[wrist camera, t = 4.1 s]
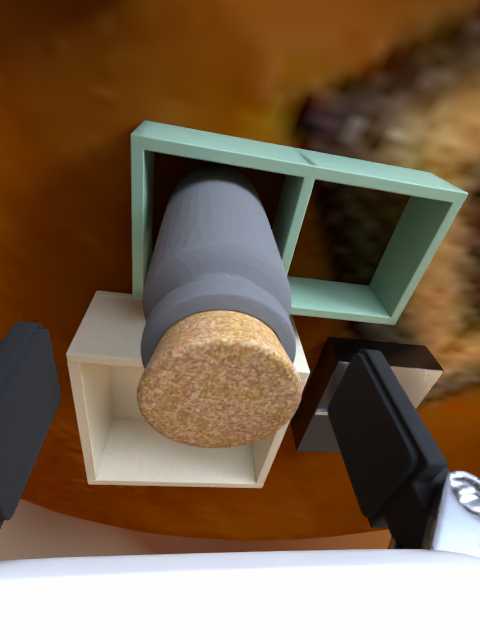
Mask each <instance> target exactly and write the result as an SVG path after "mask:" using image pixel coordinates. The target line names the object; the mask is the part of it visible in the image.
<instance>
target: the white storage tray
mask: <svg viewBox="0 0 480 640" xmlns="http://www.w3.org/2000/svg"><path fill="white" fill-rule="evenodd" d="M289 318H290V320H291V324H292V327H293V331H294V334H295V339H296V356H295V360H294V363H293V365H294V367H295V369H296V370H297V372H298V374H299V376H300V380H301V384H302V391H303V389H304V386H305V384H306V381H307V379H308V376H309V374H310V371H309V367H308V364H307V361H306V358H305V355H304V351H303V348H302V345H301V342H300V339H299V335H298V332H297V329H296V326H295V322H294V319H293V316H292V314H290V317H289ZM145 324H146V320H145V317H144V313H143V305H142V299H138V298H133V294H126V293H117V292H108V291H98V290H97V291H96V293H95V295H94V297H93V299H92V301H91V303H90V305H89V307H88V309H87V311H86V313H85V315H84V318H83V320H82V322H81V324H80V326H79V328H78V330H77V332H76V334H75V336H74V338H73V340H72V342H71V344H70V346H69V349H68V351H67V353H66V357H67V364H68V370H69V376H70V382H71V387H72V393H73V399H74V405H75V411H76V417H77V423H78V428H79V434H80V440H81V446H82V452H83V458H84V464H85V469H86V475H87V481H88V484H98V485H143V486H189V487H235V488H262V487H263V484H264V482H265V479H266V477H267V475H268V472H269V470H270V467H271V465H272V463H273V460H274V458H275V456H276V453H277V451H278V448H279V446H280V444H281V441H282V439H283V436H284V434H285V432H286V429H287V427H288V424H289V422H290V420H291V419H290V420H289V421H288V422H287V423H286V424H285V425H284V426H283V427H282V428H280V429H279V430H278V431H276V432H275V433H273V434H271V435H270V436H268V437H266V438H264V439H261V440H259V441H256V442H253V443H250V444H246V445H242V446H237V447H229V448H202V447H195V446H189V445H186V444H182V443H179V442H177V441H174V440H172V439H169V438H167V437H165V436H164V435H162V434H160V433H159V432H157V431H156V430H155V429H154V428H152V427H151V426H150V424H149V423H148V422H147V421H146V420H145V418H144V417H143V415H142V414H141V412H140V410H139V406H138V403H137V387H138V384H139V381H140V378H141V376H142V374H143V372H144V370H145V369H144V367H143V364H142V358H141V340H142V335H143V330H144V327H145Z"/></svg>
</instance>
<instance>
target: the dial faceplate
mask: <svg viewBox="0 0 480 640" xmlns="http://www.w3.org/2000/svg"><path fill="white" fill-rule="evenodd" d="M361 349H366V350H378V351H380V352H381V353H382V354H383V356H384V358H385V359H386V361H387V363H388V364H389V366H390V368H391V369H392V371H393V373H394V374H395V376H396V378H397V379H398V381H399V383H400V384H401V386H402V388H403V389H404V391H405V393H406V394H407V396H408V398H409V399H410V401H411V403H412V404H413V406H414V408H415V409H416V408H417V407H418V405H419V404H420V402H421V401H422V400H423V398H424V397H425V396H426V394H427V393H428V392H429V390H430V389H431V388H432V386H433V385H434V384H435V382H436V381H437V380H438V378H439V377H440V375H441V374H442V373H443V371H444V370H443V369H442V368H441V366H440V365H439V363H438V362H437V361H436V359H435V358H434V357H433V355H432V354H431V353H430V351H429V350H428V348H427V347H426V346H419V345H409V344H398V343H388V342H377V341H367V340H356V339H346V338H335V337H328V339H327V342H326V344H325V346H324V349H323V351H322V353H321V356H320V358H319V360H318V363H317V365H316V367H315V370H314V372H313V375H312V377H311V379H310V382H309V384H308V386H307V389H306V391H305V393H304V396H303V398H302V400H301V403H300V405H299V407H298V410H297V412H296V414H295V417H294V419H293V421H292V424H291V427H292V432H293V436H294V441H295V445H296V450H297V451H311V452H336V453H341V452H340V449H339V446H338V443H337V440H336V437H335V434H334V431H333V428H332V426H331V423H330V420H329V417H328V405H329V403H330V401H331V399H332V397H333V395H334V393H335V391H336V389H337V387H338V385H339V383H340V381H341V379H342V377H343V375H344V373H345V371H346V369H347V367H348V365H349V363H350V361H351V359H352V357H353V355H354V354H355V353H358V352H359V351H360V350H361Z"/></svg>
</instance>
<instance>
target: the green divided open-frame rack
mask: <svg viewBox="0 0 480 640" xmlns="http://www.w3.org/2000/svg"><path fill="white" fill-rule="evenodd" d="M130 141H131V217H132V293H133V298H138V299H143V290H144V285H145V281H146V277H147V274H148V270H149V266H150V263H151V259H152V239H153V199H154V159H155V152H157V153H163V154H169V155H175V156H181V157H187V158H193V159H198V160H204V161H210V162H216V163H222V164H228V165H234V166H240V167H246V168H251V169H257V170H263V171H269V172H275V173H281V174H286V175H285V179H284V183H283V187H282V191H281V195H280V199H279V204H278V208H277V212H276V216H275V220H274V224H273V228H272V233H273V236H274V239H275V242H276V245H277V248H278V251H279V254H280V257H281V260H282V263H283V266H284V269H285V272H286V275H287V274H288V270H289V267H290V263H291V260H292V256H293V253H294V250H295V246H296V243H297V239H298V236H299V232H300V229H301V226H302V222H303V219H304V215H305V212H306V208H307V205H308V202H309V198H310V195H311V191H312V188H313V185H314V181H315V179H316V180H322V181H328V182H334V183H340V184H346V185H351V186H357V187H363V188H369V189H375V190H381V191H387V192H393V193H399V194H404V195H410V198H409V200H408V202H407V204H406V207H405V209H404V211H403V213H402V215H401V217H400V219H399V222H398V224H397V226H396V228H395V230H394V232H393V235H392V237H391V239H390V241H389V243H388V245H387V248H386V250H385V252H384V254H383V256H382V258H381V260H380V263H379V265H378V267H377V269H376V271H375V273H374V276H373V278H372V280H371V282H370V284H369V286H367V285H358V284H350V283H342V282H334V281H326V280H317V279H309V278H301V277H293V276H287V279H288V282H289V285H290V290H291V298H292V304H291V313H290V314H293V315H302V316H312V317H322V318H331V319H341V320H350V321H360V322H370V323H379V324H388V325H395V324H396V322H397V320H398V318H399V316H400V315H401V313H402V311H403V309H404V307H405V306H406V304H407V302H408V300H409V299H410V297H411V295H412V293H413V291H414V290H415V288H416V286H417V284H418V282H419V281H420V279H421V277H422V275H423V274H424V272H425V270H426V268H427V266H428V265H429V263H430V261H431V259H432V257H433V256H434V254H435V252H436V250H437V249H438V247H439V245H440V243H441V241H442V240H443V238H444V236H445V234H446V232H447V231H448V229H449V227H450V225H451V223H452V222H453V220H454V218H455V216H456V215H457V213H458V211H459V209H460V207H461V206H462V204H463V202H464V200H465V199H466V197H467V195H468V193H467V192H465V191H463V190H461V189H459V188H458V187H456V186H454V185H452V184H450V183H448V182H447V181H445V180H443V179H441V178H439V177H437V176H435V175H434V174H432V173H430V172H424V171H419V170H413V169H408V168H402V167H397V166H392V165H386V164H381V163H375V162H370V161H364V160H359V159H353V158H348V157H342V156H337V155H331V154H326V153H321V152H315V151H310V150H304V149H299V148H293V147H288V146H282V145H277V144H271V143H266V142H261V141H255V140H250V139H244V138H239V137H233V136H228V135H222V134H217V133H211V132H206V131H200V130H195V129H190V128H184V127H179V126H173V125H168V124H162V123H157V122H151V121H146V120H144V121H143V122H142V123H141V124H140V125H139V126H138V127H137V128H136V129H135V130H134V131H133V132H132V133H131V135H130Z"/></svg>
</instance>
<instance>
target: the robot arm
mask: <svg viewBox="0 0 480 640" xmlns="http://www.w3.org/2000/svg"><path fill="white" fill-rule="evenodd" d="M60 400H61V390H60V385H59V380H58V374H57V369H56V364H55V359H54V354H53V349H52V344H51V339H50V334H49V331H48V329H43V327H42V325H41V324H39V323H28V322H16V323H15V324H14V325H13V326H12V328H11V329H10V331H9V332H8V333H7V335H6V336H5V338H4V339H3V341H2V342H1V343H0V528H1V526H2V524H3V521H4V520H9V519H10V518H11V517H12V516H13V514H14V512H15V510H16V507H17V505H18V502H19V500H20V498H21V495H22V493H23V490H24V488H25V486H26V483H27V481H28V478H29V476H30V474H31V471H32V469H33V466H34V464H35V462H36V459H37V457H38V454H39V452H40V449H41V447H42V445H43V442H44V440H45V437H46V435H47V433H48V430H49V428H50V425H51V423H52V421H53V418H54V416H55V413H56V411H57V409H58V406H59V403H60ZM328 417H329V420H330V423H331V426H332V428H333V431H334V434H335V437H336V440H337V443H338V446H339V449H340V452H341V455H342V457H343V460H344V463H345V466H346V469H347V472H348V475H349V478H350V481H351V484H352V486H353V489H354V492H355V495H356V498H357V501H358V504H359V507H360V510H361V512H362V514H363V515H364V516H365V517H367V518H368V521H369V523H370V526H371V528H381V527H388V528H389V531H390V533H391V535H392V537H391V540H390V543H389V546H388V549H359V550H317V551H316V550H314V551H313V550H312V551H272V552H271V551H270V552H230V553H192V554H159V555H125V556H94V557H93V556H92V557H65V558H44V559H23V560H3V561H0V640H480V479H479V478H478V477H476V476H474V475H472V474H470V473H468V472H464V471H460V470H459V471H452V472H450V471H449V469H448V468H447V465H448V463H447V461H446V460H445V458H444V456H443V455H442V453H441V451H440V449H439V448H438V446H437V444H436V443H435V441H434V439H433V438H432V436H431V434H430V433H429V431H428V429H427V428H426V426H425V424H424V423H423V421H422V419H421V418H420V416H419V414H418V413H417V411H416V409H415V408H414V406H413V404H412V403H411V401H410V399H409V398H408V396H407V394H406V393H405V391H404V389H403V388H402V386H401V384H400V383H399V381H398V379H397V378H396V376H395V374H394V373H393V371H392V369H391V368H390V366H389V364H388V363H387V361H386V359H385V358H384V356H383V354H382V353H381V352H380V351H378V350H366V349H361V350H360V351H359V352H358V353H355V354H354V355H353V357H352V359H351V361H350V363H349V365H348V367H347V369H346V371H345V373H344V375H343V377H342V379H341V381H340V383H339V385H338V387H337V389H336V391H335V393H334V395H333V397H332V399H331V401H330V403H329V405H328Z"/></svg>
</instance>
